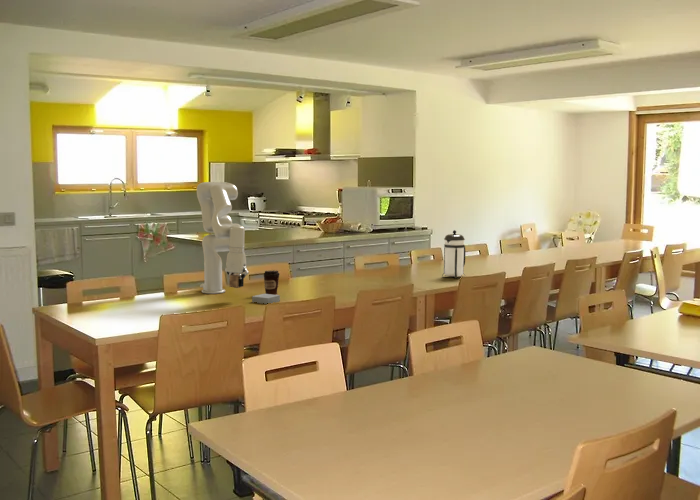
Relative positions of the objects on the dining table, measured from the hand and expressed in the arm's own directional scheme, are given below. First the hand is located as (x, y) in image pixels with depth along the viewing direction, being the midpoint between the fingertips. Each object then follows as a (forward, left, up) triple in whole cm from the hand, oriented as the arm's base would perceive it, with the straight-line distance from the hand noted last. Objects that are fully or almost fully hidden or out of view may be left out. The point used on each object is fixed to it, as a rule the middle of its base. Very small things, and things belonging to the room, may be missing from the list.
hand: (236, 285), depth 364 cm
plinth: (+13, +7, -8) cm, 17 cm away
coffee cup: (+3, +25, -9) cm, 27 cm away
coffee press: (+60, +142, -9) cm, 155 cm away
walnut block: (0, 0, -1) cm, 1 cm away
